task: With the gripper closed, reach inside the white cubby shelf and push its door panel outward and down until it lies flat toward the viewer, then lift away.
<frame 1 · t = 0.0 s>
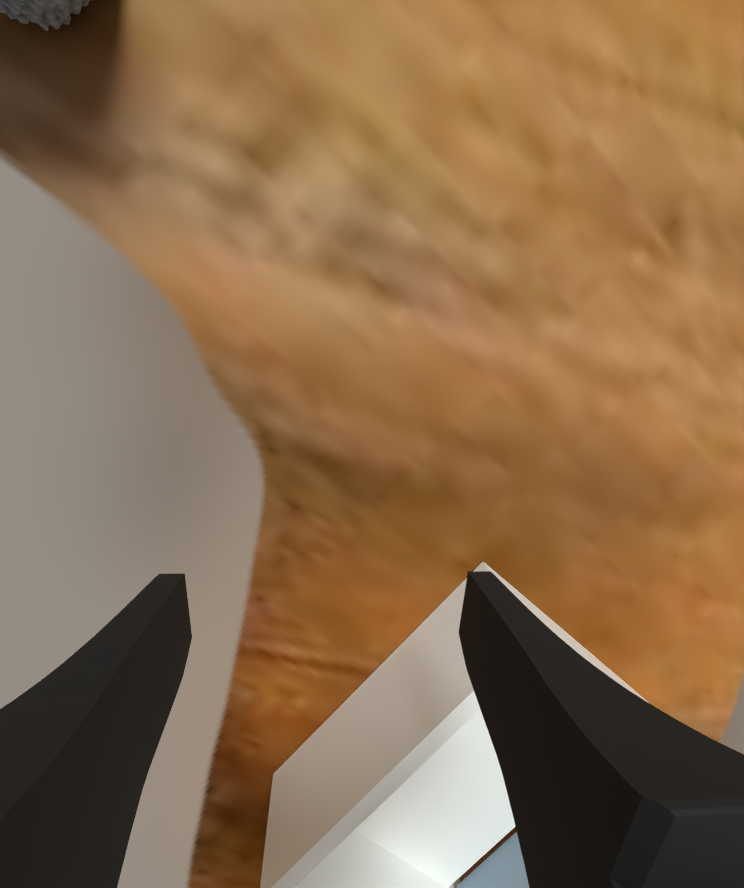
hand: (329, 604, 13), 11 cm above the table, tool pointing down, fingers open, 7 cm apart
white cubby shelf: (466, 738, 27), on the table
door panel: (569, 857, 25), point 4 cm above the table, hinge at 0.0°
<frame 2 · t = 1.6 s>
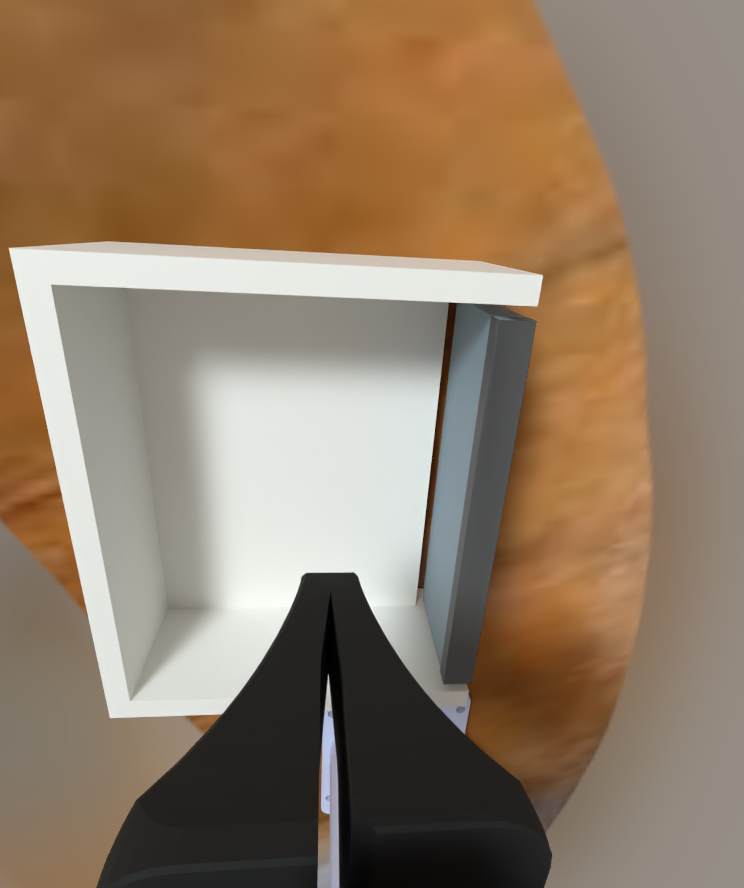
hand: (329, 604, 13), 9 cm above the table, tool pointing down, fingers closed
white cubby shelf: (304, 453, 21), on the table
door panel: (464, 495, 19), point 4 cm above the table, hinge at 0.0°
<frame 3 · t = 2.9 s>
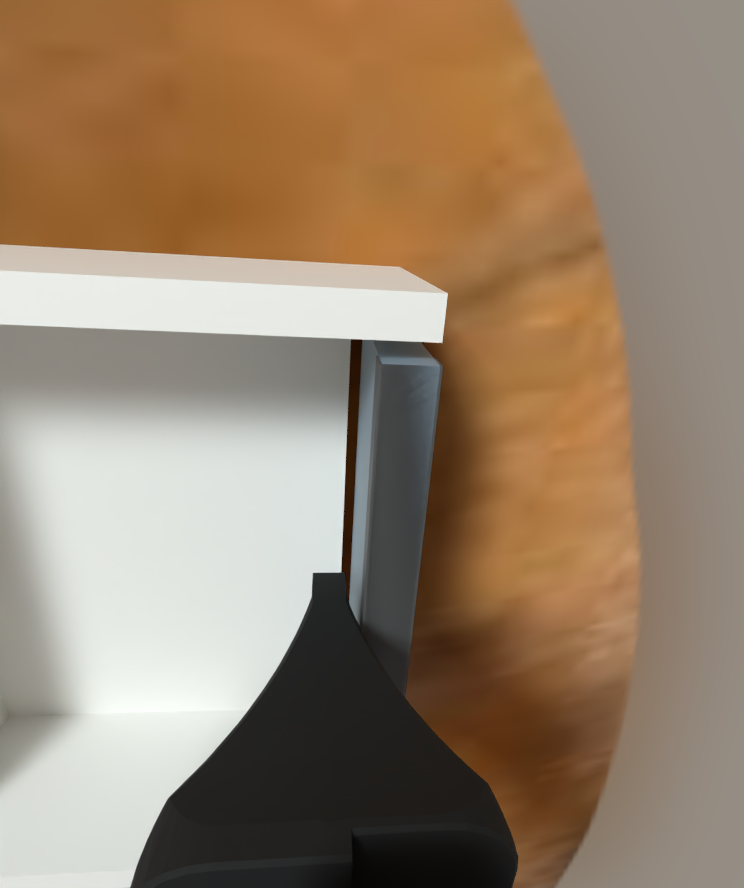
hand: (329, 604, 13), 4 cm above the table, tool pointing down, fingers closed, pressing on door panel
white cubby shelf: (179, 518, 16), on the table
door panel: (375, 592, 13), point 4 cm above the table, hinge at 0.1°, touching gripper
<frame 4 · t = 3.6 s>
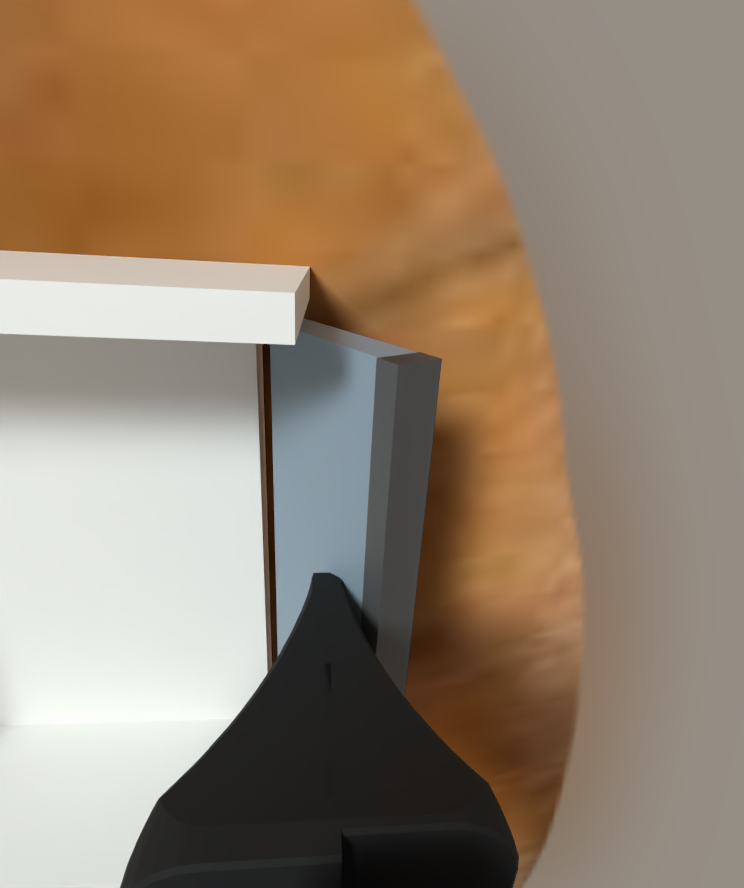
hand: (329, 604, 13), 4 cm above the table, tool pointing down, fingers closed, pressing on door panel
white cubby shelf: (99, 525, 16), on the table
door panel: (335, 591, 13), point 3 cm above the table, hinge at 34.5°, touching gripper
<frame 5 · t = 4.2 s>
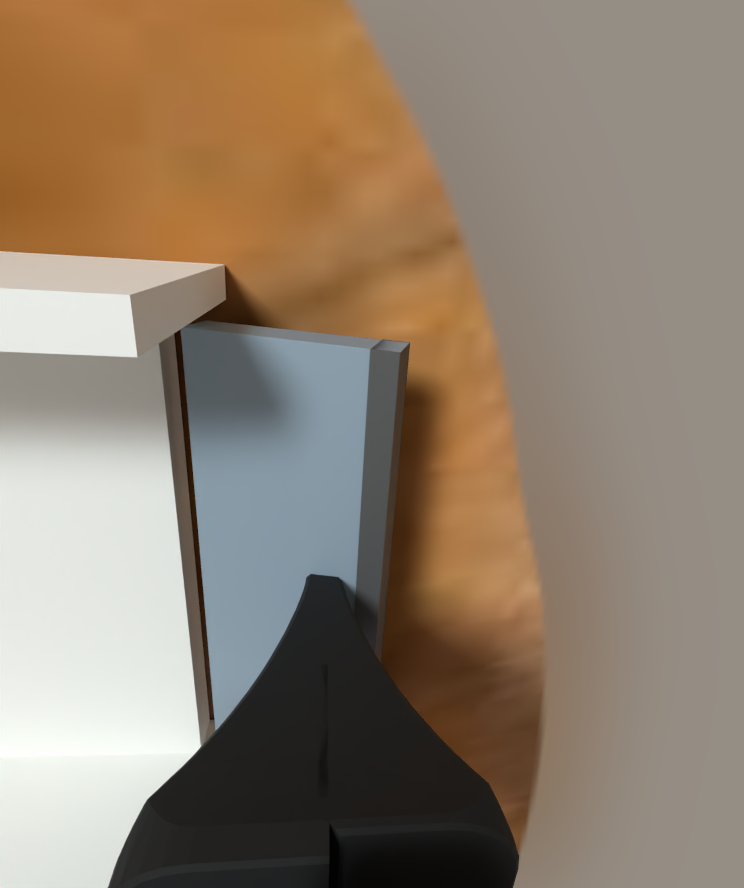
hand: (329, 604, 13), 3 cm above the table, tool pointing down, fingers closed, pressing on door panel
white cubby shelf: (7, 546, 14), on the table
door panel: (294, 591, 13), point 2 cm above the table, hinge at 72.1°, touching gripper
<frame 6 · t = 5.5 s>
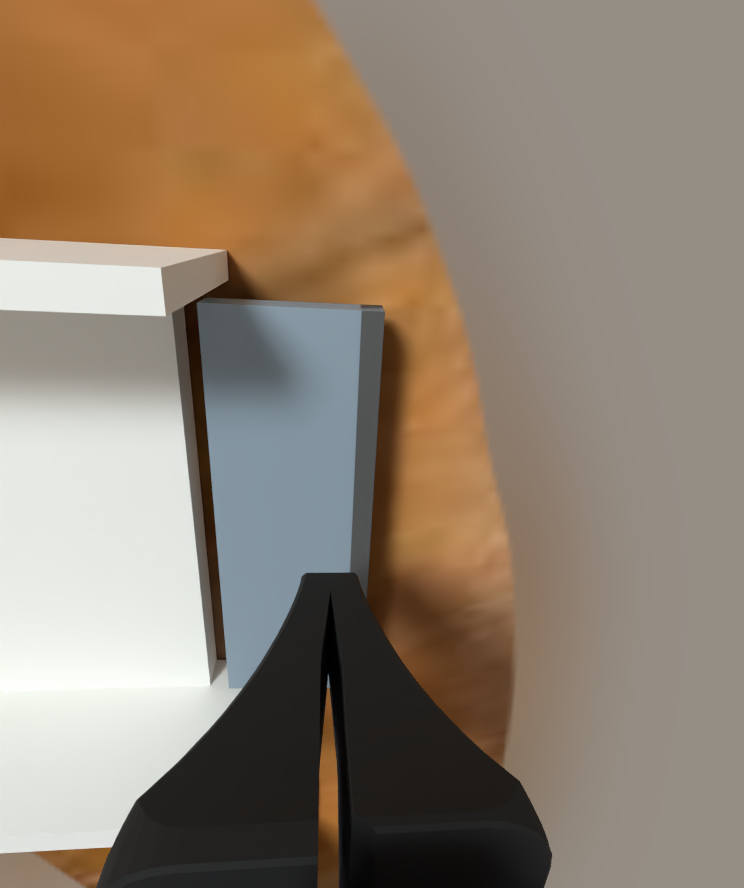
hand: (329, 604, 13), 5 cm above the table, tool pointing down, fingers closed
white cubby shelf: (39, 500, 16), on the table
door panel: (295, 521, 16), point 1 cm above the table, hinge at 88.4°
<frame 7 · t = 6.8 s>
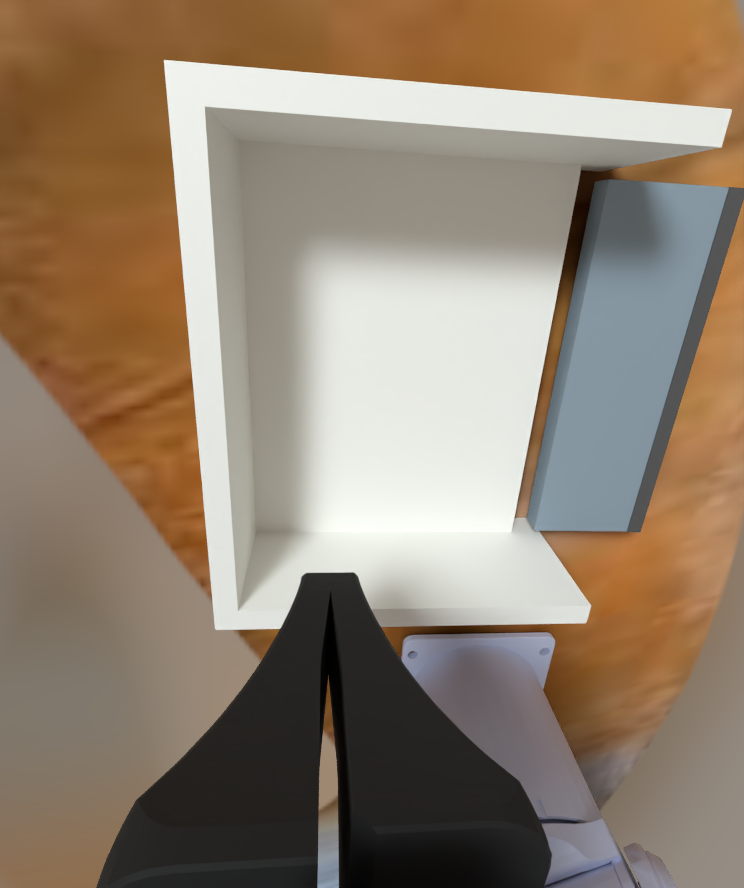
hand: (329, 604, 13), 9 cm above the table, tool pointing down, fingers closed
white cubby shelf: (405, 363, 20), on the table
door panel: (619, 377, 20), point 1 cm above the table, hinge at 89.1°
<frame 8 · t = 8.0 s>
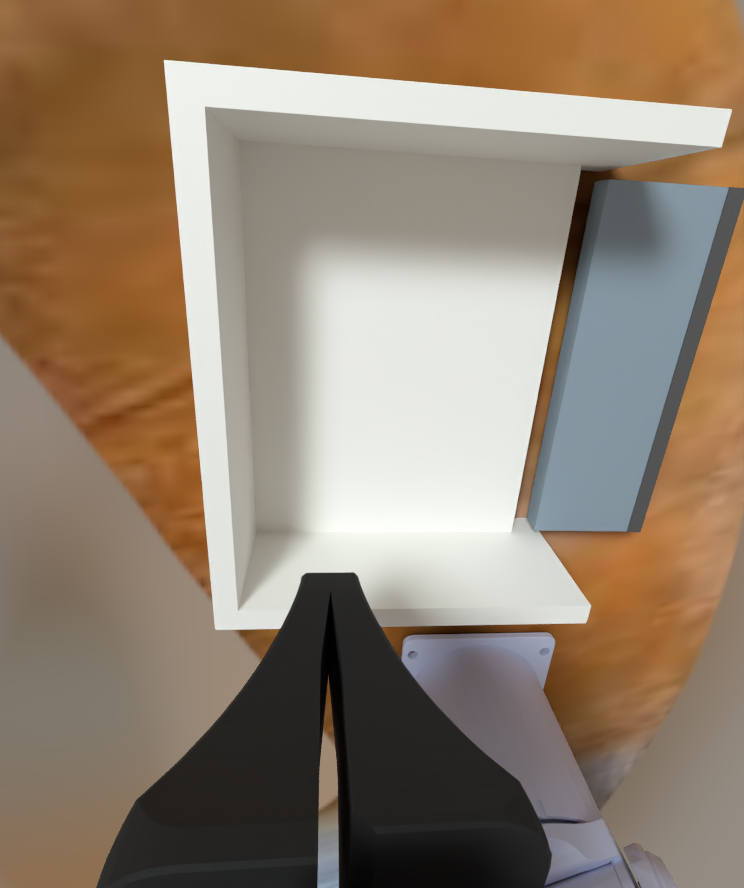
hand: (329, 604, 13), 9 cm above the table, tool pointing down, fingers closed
white cubby shelf: (405, 363, 20), on the table
door panel: (619, 377, 20), point 1 cm above the table, hinge at 89.1°
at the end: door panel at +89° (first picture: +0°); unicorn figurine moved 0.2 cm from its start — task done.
